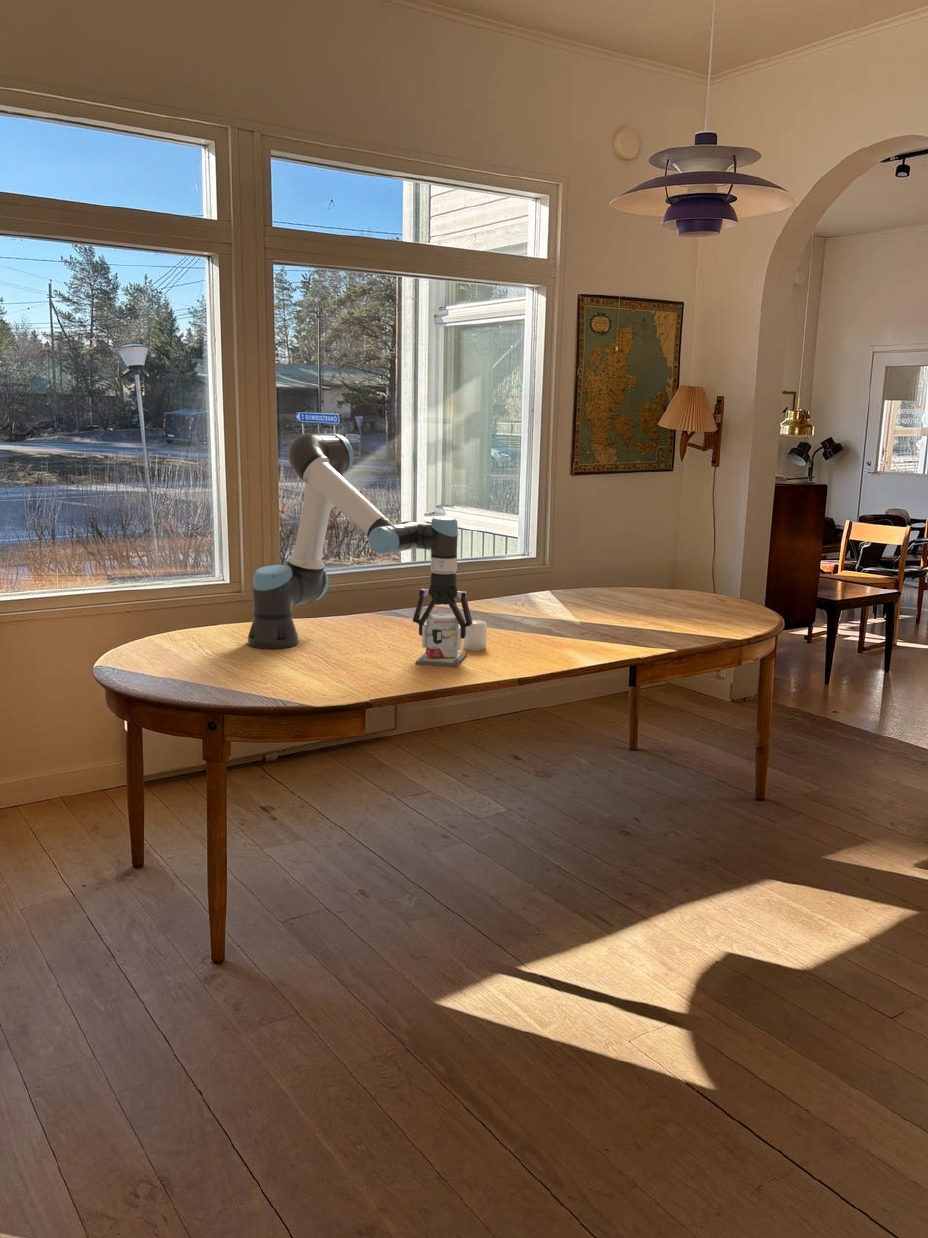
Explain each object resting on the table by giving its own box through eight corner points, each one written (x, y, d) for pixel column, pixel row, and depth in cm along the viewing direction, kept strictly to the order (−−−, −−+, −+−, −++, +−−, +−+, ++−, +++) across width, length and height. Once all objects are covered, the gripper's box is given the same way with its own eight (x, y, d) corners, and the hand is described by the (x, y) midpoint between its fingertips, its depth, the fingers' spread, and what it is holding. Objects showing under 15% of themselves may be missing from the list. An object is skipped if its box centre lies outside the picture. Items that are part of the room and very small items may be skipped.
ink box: (429, 658, 290) (429, 618, 288) (425, 654, 295) (425, 614, 292) (458, 657, 292) (458, 617, 290) (453, 653, 297) (454, 613, 294)
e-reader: (415, 664, 288) (415, 660, 288) (427, 653, 301) (427, 650, 301) (456, 667, 286) (456, 664, 285) (467, 656, 299) (467, 653, 299)
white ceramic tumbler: (460, 649, 307) (461, 624, 305) (465, 644, 314) (466, 619, 312) (483, 651, 306) (484, 625, 304) (487, 646, 312) (488, 621, 311)
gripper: (402, 571, 287) (401, 647, 292) (479, 576, 282) (477, 653, 287) (409, 567, 294) (408, 642, 299) (484, 572, 290) (482, 647, 294)
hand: (441, 647), depth 293 cm, fingers open, 10 cm apart
